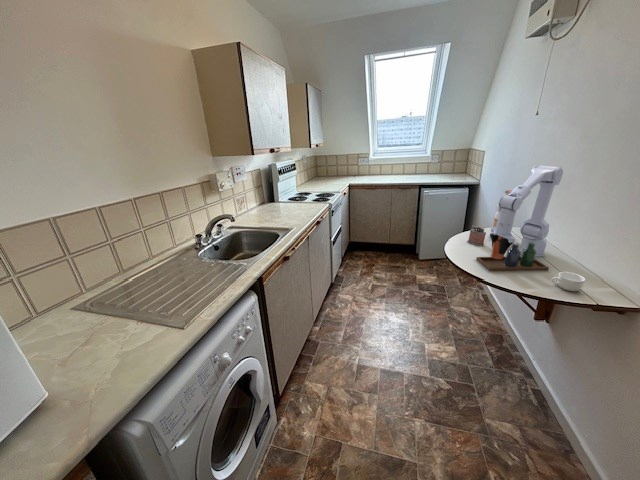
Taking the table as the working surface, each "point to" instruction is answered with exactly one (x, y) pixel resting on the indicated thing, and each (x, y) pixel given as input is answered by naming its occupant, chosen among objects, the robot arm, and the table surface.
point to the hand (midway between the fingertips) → (498, 251)
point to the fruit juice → (498, 210)
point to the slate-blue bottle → (512, 256)
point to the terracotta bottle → (496, 249)
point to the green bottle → (528, 256)
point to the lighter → (477, 236)
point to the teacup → (569, 281)
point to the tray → (498, 265)
